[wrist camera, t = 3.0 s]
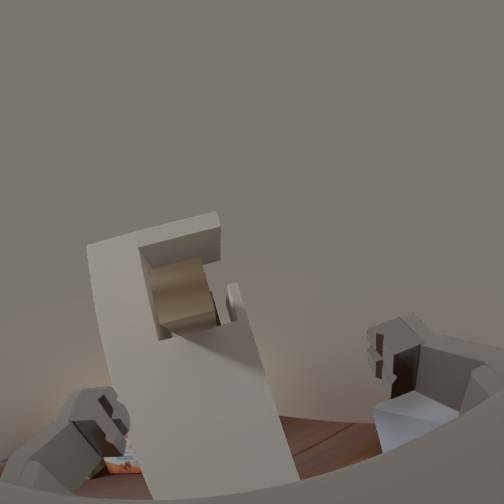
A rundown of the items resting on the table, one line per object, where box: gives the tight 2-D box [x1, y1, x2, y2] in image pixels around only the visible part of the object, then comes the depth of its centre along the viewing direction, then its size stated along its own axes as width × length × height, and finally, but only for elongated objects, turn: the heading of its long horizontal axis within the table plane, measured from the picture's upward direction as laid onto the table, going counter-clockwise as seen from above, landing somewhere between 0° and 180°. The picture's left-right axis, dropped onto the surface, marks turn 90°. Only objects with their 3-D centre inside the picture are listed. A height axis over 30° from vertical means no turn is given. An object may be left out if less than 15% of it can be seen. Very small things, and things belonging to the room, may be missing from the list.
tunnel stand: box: [86, 211, 300, 500], centre depth 26 cm, size 10×12×36 cm
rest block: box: [371, 390, 459, 453], centre depth 16 cm, size 14×8×15 cm, turn 6°
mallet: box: [147, 257, 221, 336], centre depth 25 cm, size 18×4×4 cm, turn 6°
